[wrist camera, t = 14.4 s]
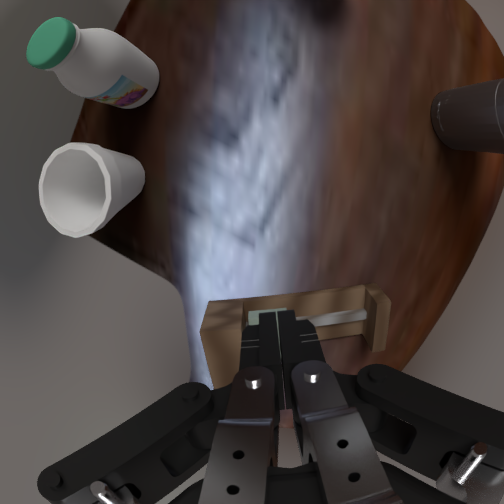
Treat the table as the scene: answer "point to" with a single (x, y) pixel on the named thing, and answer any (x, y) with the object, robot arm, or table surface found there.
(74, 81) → the milk bottle
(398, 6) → the table surface
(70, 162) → the foam cup
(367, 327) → the brown mechanism housing
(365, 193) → the table surface
